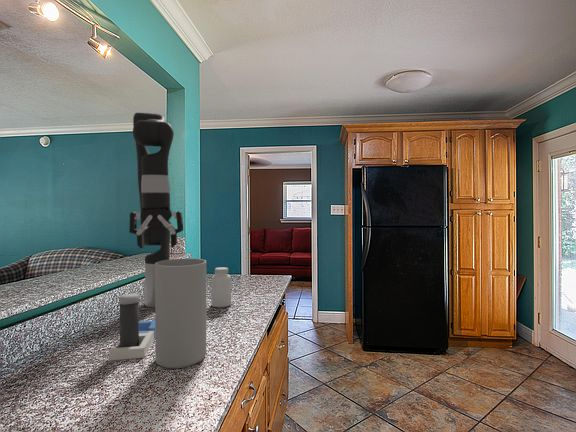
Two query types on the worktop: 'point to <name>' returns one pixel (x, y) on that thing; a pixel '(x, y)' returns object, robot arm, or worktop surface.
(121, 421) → the worktop surface
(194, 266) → the cylinder vase
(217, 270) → the pill bottle
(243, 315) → the worktop surface
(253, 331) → the worktop surface
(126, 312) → the grey capped cylinder
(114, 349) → the blue grey comb bracket
